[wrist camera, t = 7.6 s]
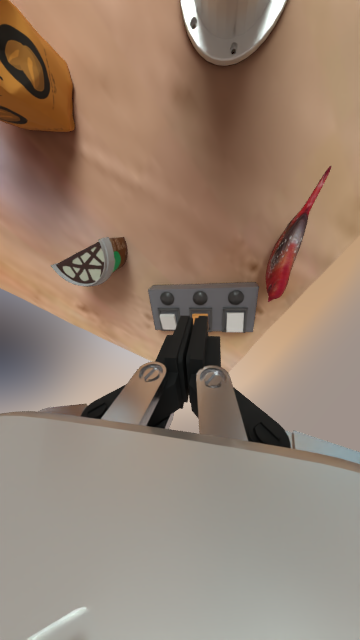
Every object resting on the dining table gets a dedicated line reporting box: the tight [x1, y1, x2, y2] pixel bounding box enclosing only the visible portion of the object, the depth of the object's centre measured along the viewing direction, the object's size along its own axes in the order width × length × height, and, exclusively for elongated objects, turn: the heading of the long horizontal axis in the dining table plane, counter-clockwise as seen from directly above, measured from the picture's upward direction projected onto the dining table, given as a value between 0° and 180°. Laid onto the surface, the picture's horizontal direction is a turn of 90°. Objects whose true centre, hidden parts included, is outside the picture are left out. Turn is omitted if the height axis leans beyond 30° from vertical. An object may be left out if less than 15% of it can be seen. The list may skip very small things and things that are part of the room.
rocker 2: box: [226, 312, 244, 332], centre depth 35 cm, size 4×3×1 cm
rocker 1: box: [160, 314, 177, 330], centre depth 38 cm, size 4×3×1 cm
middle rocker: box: [192, 314, 208, 325], centre depth 37 cm, size 4×3×1 cm
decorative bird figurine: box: [266, 166, 331, 302], centre depth 26 cm, size 3×18×10 cm, turn 169°
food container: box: [51, 237, 127, 286], centre depth 34 cm, size 12×6×10 cm, turn 112°
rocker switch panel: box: [148, 282, 259, 333], centre depth 38 cm, size 10×22×4 cm, turn 95°
